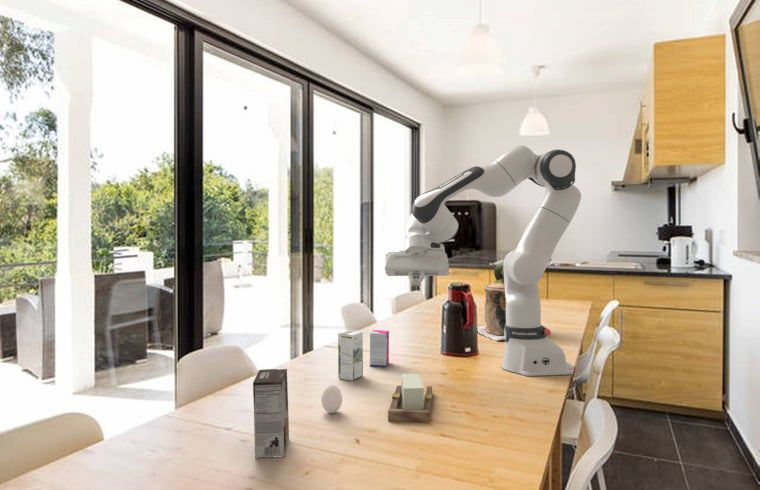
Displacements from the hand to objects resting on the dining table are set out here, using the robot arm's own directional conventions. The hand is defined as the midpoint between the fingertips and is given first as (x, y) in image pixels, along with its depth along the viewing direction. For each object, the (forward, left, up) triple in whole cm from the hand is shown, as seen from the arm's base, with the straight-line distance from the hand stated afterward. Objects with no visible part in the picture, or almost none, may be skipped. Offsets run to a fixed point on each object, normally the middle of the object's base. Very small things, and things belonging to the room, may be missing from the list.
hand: (416, 284), depth 150 cm
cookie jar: (-35, -66, -30) cm, 80 cm away
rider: (0, +23, -30) cm, 37 cm away
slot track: (0, +22, -29) cm, 37 cm away
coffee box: (+28, +50, -30) cm, 65 cm away
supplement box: (+14, -15, -30) cm, 36 cm away
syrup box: (+21, 0, -30) cm, 36 cm away
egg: (+20, +29, -30) cm, 46 cm away
